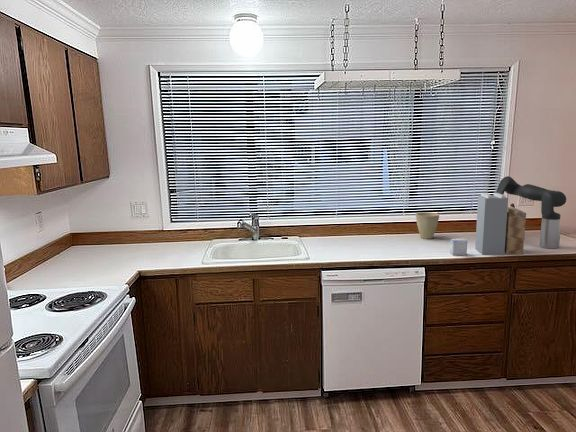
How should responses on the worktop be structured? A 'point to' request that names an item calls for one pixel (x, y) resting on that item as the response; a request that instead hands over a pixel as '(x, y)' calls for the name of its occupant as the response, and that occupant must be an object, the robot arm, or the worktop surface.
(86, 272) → the worktop surface
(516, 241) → the block
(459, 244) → the medicine box
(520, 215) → the bar
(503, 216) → the slot column
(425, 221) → the plant pot
